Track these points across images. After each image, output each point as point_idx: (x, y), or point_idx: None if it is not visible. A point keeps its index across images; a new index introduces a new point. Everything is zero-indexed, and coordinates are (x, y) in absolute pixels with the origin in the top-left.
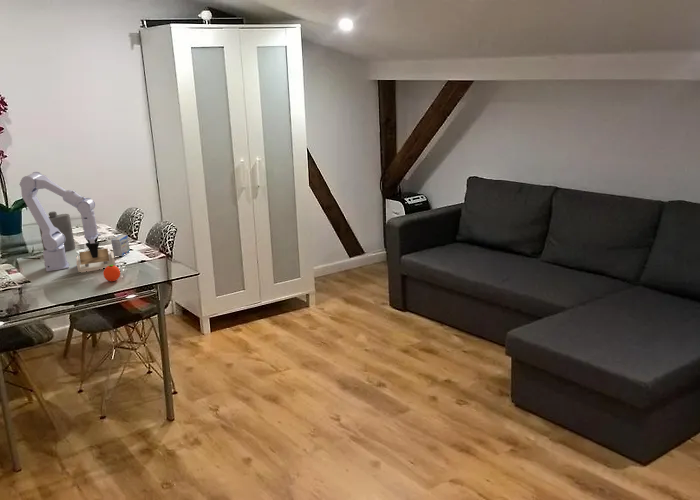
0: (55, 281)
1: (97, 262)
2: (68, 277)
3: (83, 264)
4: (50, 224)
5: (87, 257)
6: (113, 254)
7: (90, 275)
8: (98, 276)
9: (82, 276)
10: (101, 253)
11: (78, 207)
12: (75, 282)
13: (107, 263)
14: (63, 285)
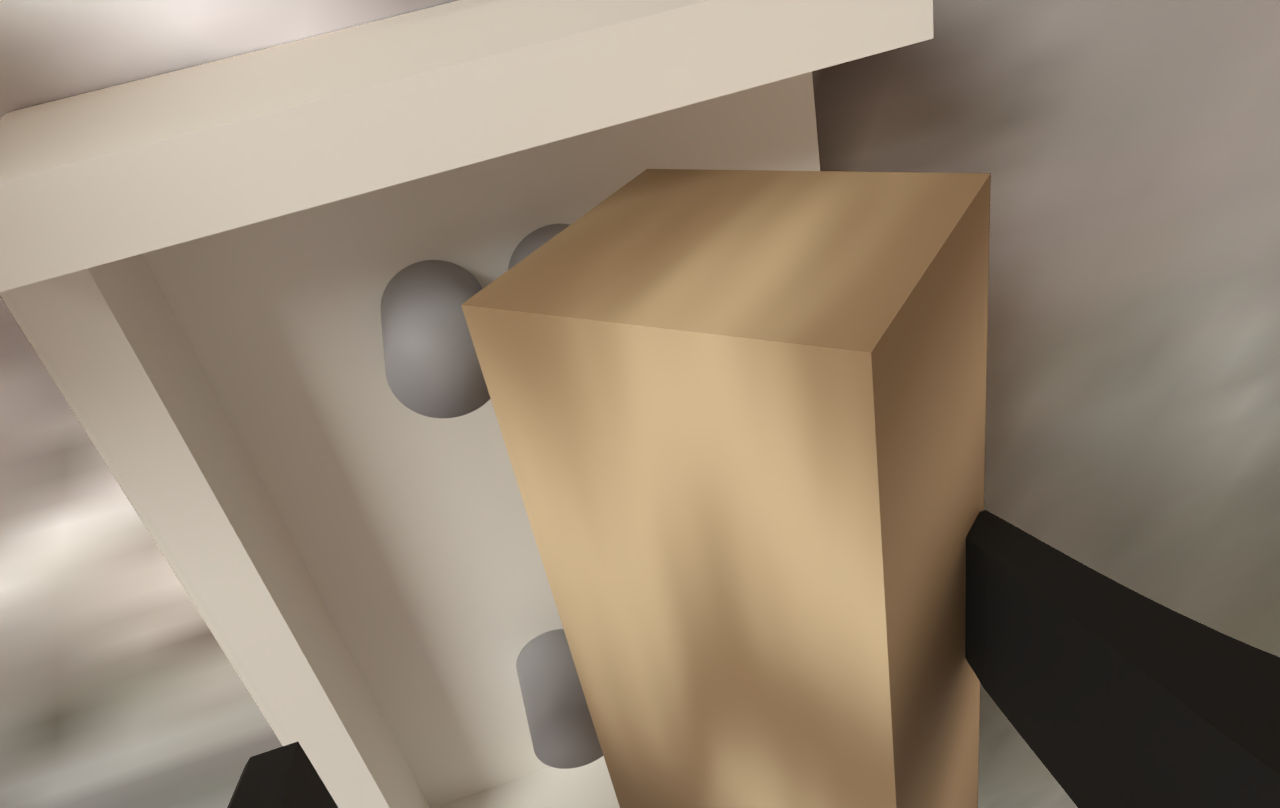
0: (1063, 789)
1: (427, 503)
2: (989, 705)
3: (507, 731)
4: None
5: (968, 738)
6: (488, 59)
7: (1078, 408)
8: (1220, 236)
9: (1055, 526)
10: (949, 468)
11: None
12: (1265, 533)
13: (578, 217)
14: (1276, 640)
